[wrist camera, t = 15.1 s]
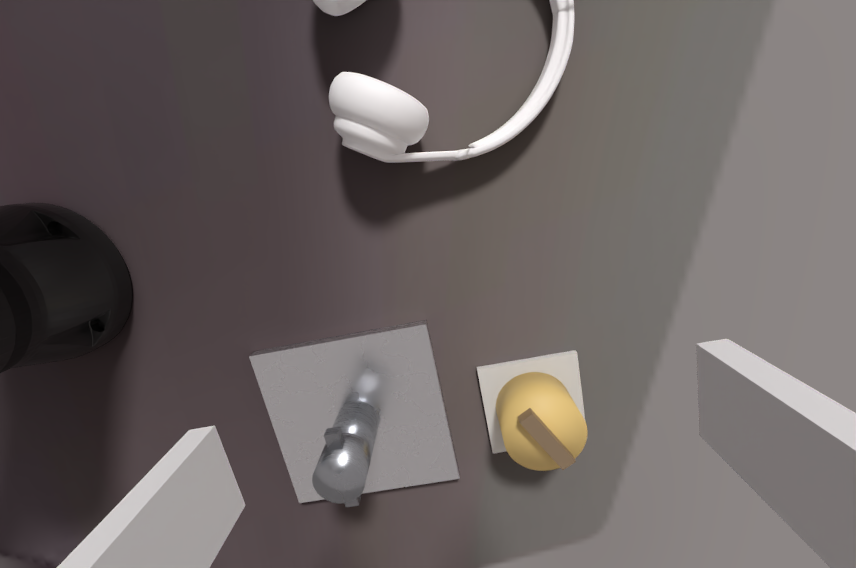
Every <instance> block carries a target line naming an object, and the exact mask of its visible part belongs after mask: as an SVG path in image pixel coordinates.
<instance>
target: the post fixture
mask: <svg viewBox="0 0 856 568" xmlns="http://www.w3.org/2000/svg"><path fill="white" fill-rule="evenodd" d="M249 358H250V361H251V363H252V366H253V369H254V372H255V375H256V378H257V381H258V384H259V387H260V390H261V393H262V396H263V398H264V401H265V404H266V407H267V410H268V413H269V416H270V419H271V422H272V425H273V428H274V431H275V433H276V436H277V439H278V442H279V445H280V448H281V451H282V454H283V457H284V460H285V463H286V466H287V469H288V471H289V474H290V477H291V480H292V483H293V486H294V489H295V492H296V495H297V498H298V501H299V503H304V502H310V501H317V500H323V499H325V500H327V501H330V502H333V503H345V506H346V507H352V506H358V505H359V503H360V499H361V494H363V493H369V492H376V491H382V490H389V489H395V488H402V487H409V486H415V485H422V484H428V483H435V482H441V481H448V480H454V479H460V477H459V468H458V464H457V459H456V454H455V450H454V445H453V440H452V436H451V431H450V427H449V422H448V417H447V413H446V408H445V403H444V399H443V394H442V390H441V385H440V380H439V376H438V371H437V366H436V362H435V357H434V353H433V348H432V343H431V339H430V334H429V329H428V325H427V320H423V321H418V322H413V323H407V324H402V325H396V326H391V327H385V328H380V329H374V330H369V331H363V332H358V333H352V334H347V335H341V336H336V337H330V338H325V339H320V340H314V341H309V342H303V343H298V344H292V345H287V346H281V347H276V348H270V349H265V350H259V351H254V352H253V353H252V354H251V355H250V356H249Z"/></svg>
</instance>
